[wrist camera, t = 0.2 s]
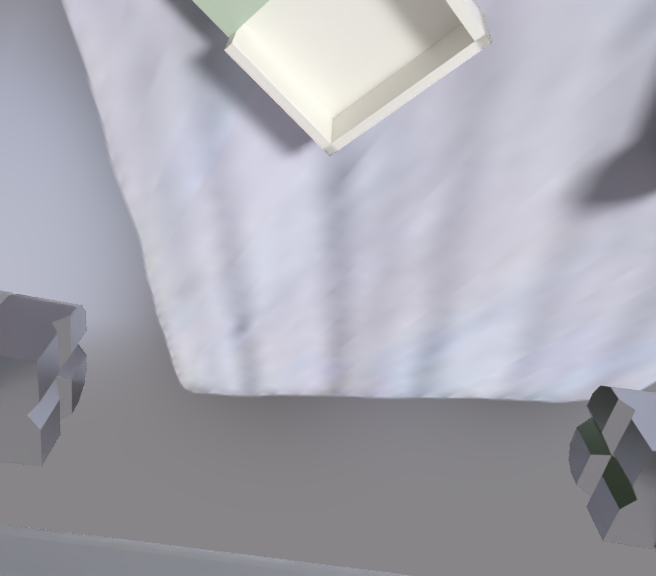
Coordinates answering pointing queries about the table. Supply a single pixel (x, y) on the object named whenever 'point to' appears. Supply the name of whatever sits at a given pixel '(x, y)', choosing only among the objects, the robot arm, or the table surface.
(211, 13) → the board
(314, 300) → the table surface
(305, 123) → the tray
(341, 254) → the table surface
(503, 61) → the table surface
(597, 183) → the table surface
